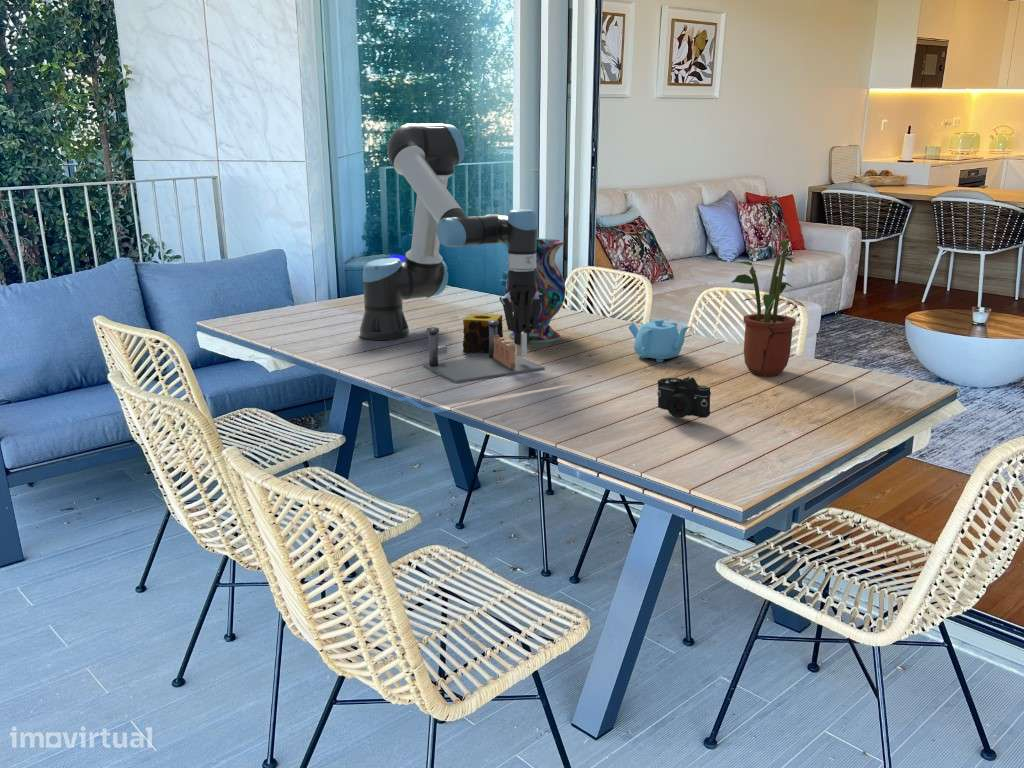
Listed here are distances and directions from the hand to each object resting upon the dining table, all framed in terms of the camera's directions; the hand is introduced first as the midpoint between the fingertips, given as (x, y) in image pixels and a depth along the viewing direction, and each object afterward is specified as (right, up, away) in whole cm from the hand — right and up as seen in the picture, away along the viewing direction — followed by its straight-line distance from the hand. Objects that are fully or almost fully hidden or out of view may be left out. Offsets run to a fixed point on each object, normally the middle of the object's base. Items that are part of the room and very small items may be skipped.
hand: (521, 355), depth 236 cm
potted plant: (+62, -5, -7) cm, 62 cm away
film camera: (+35, -15, -40) cm, 55 cm away
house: (-47, +28, +110) cm, 123 cm away
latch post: (-23, -3, 0) cm, 23 cm away
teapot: (+39, -1, +9) cm, 40 cm away
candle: (-11, +2, +18) cm, 22 cm away
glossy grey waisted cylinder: (-8, -1, +8) cm, 11 cm away
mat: (-10, -3, -2) cm, 11 cm away
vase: (+4, +6, +33) cm, 34 cm away
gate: (-5, -2, 0) cm, 5 cm away
